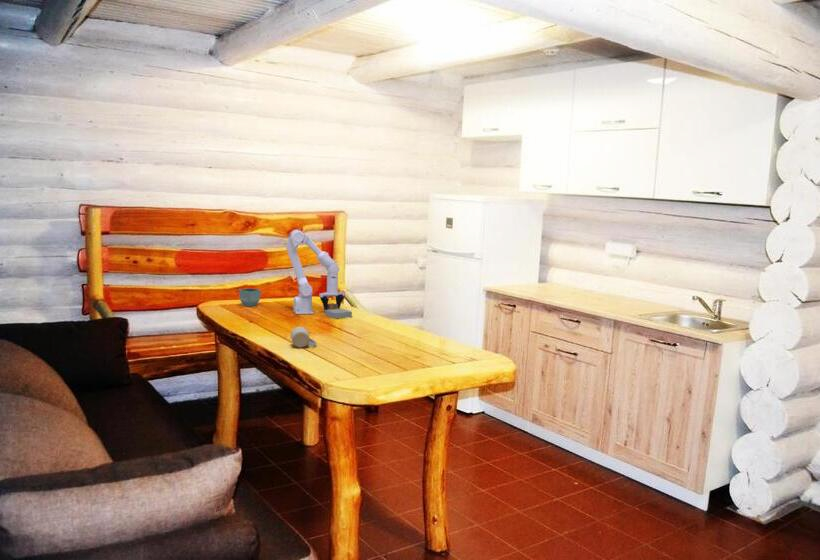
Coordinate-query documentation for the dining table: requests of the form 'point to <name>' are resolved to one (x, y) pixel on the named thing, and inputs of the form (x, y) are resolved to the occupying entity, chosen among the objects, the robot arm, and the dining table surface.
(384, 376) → the dining table surface
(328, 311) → the base block
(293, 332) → the ceramic mug
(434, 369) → the dining table surface
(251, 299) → the flower pot
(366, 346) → the dining table surface
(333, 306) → the walnut cube
